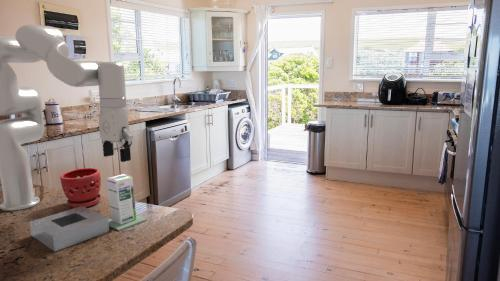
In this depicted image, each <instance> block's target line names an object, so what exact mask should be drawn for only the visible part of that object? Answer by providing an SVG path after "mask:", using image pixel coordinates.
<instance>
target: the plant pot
mask: <svg viewBox="0 0 500 281" xmlns="http://www.w3.org/2000/svg"><path fill="white" fill-rule="evenodd" d="M59 179H60V184H61V188H62V190H63V193H64V195H65V198H67V201H66V203H67V205H68V206H69V207H72V208H77V207H81V206H83V207H86V208H89V207H91V206H94V205H96V204H98V203H99V202H100V201H101V199H102V195H101V194H100V191H101V187H102V186H101V183H102V182H101V181H102V180H101V179H102V178H101V172H100V170H99V169H98V168H95V167H83V168H82V167H81V168H76V169H72V170H69V171H66V172H63V173H61V175H60V178H59Z"/></svg>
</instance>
